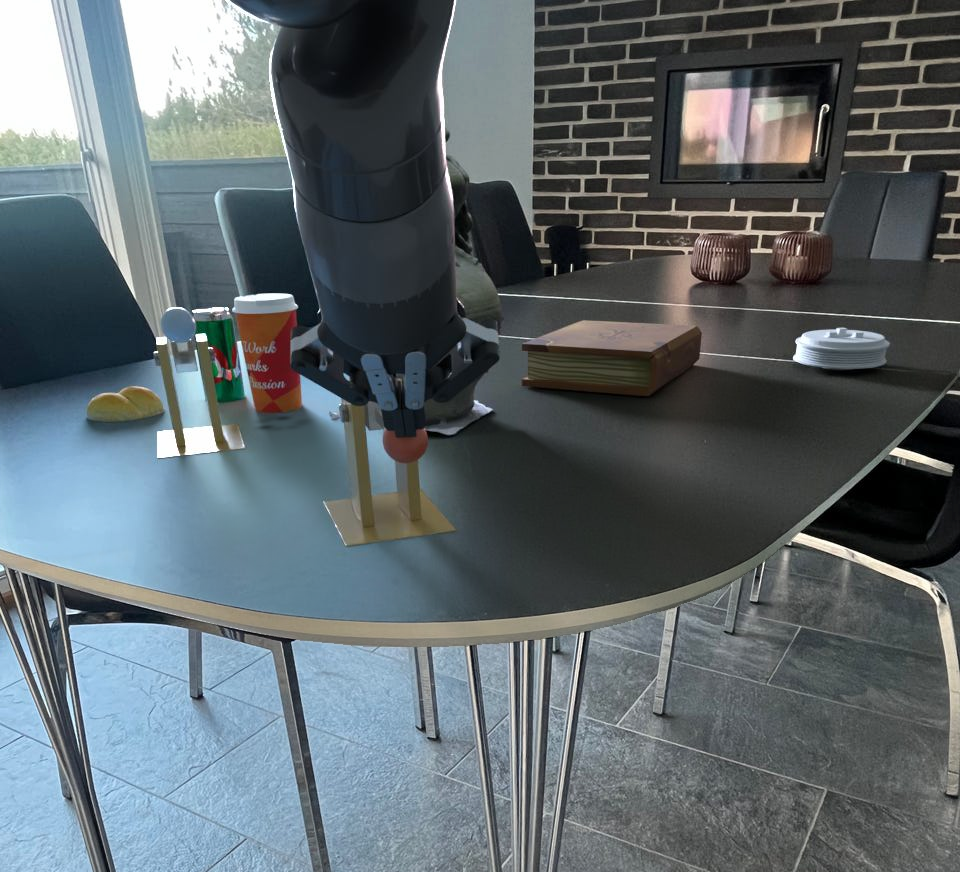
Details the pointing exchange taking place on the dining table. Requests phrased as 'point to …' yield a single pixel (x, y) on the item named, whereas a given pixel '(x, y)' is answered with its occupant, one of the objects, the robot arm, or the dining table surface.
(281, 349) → the paper cup
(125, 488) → the dining table surface
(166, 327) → the lever
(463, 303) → the decorative urn
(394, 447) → the lever
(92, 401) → the bread roll
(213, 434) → the hanging ball swing frame
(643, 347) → the diary
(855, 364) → the lid
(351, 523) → the swinging ball frame
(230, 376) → the soda can
